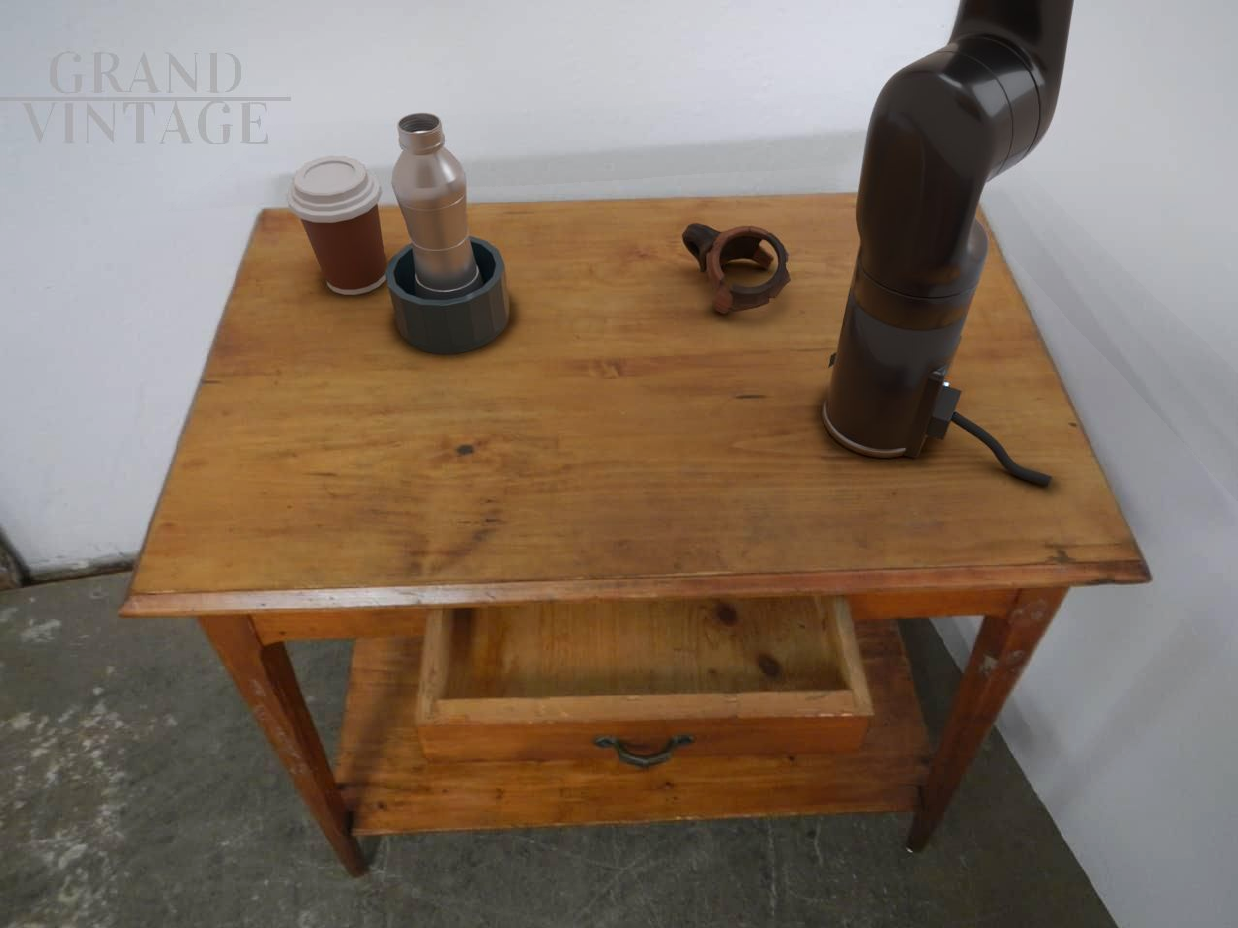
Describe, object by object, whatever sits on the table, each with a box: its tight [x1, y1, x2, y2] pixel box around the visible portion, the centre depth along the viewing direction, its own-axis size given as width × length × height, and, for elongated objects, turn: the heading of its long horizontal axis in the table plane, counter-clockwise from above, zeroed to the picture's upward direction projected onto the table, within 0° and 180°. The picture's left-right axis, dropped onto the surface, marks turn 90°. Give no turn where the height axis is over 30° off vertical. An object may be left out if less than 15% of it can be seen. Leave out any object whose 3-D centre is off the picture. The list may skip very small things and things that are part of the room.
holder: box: [385, 234, 511, 355], centre depth 92 cm, size 11×11×6 cm
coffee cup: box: [285, 155, 388, 296], centre depth 94 cm, size 9×9×12 cm
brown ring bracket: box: [681, 222, 792, 315], centre depth 95 cm, size 12×9×8 cm
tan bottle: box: [390, 112, 484, 300], centre depth 86 cm, size 6×7×20 cm
